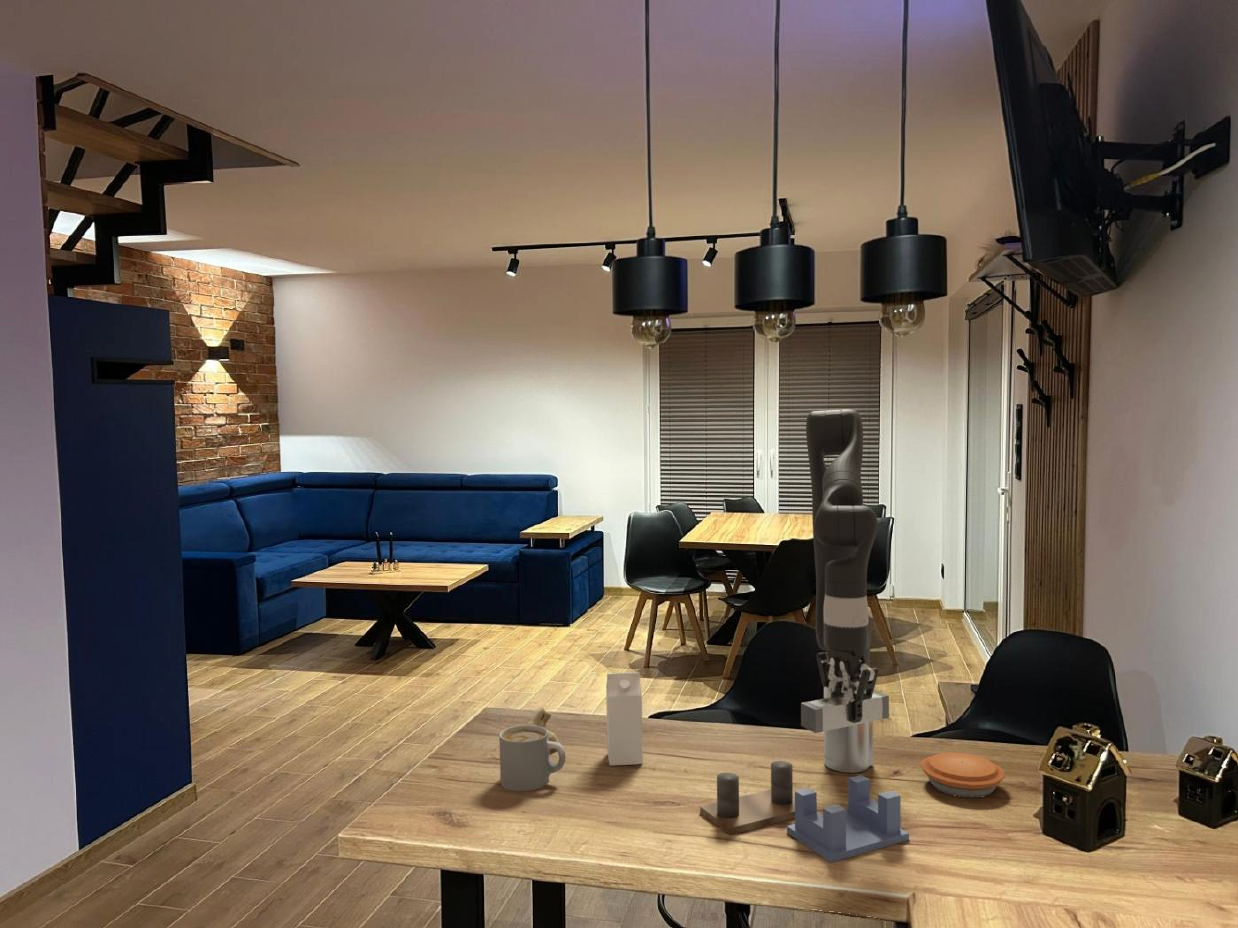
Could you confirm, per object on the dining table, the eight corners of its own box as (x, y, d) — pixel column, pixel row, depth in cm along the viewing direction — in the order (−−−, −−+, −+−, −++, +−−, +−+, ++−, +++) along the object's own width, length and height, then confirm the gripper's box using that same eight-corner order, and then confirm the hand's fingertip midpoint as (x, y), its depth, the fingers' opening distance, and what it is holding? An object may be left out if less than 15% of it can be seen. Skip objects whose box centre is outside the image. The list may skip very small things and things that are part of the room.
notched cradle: (861, 812, 163) (861, 771, 163) (909, 839, 152) (909, 796, 152) (787, 832, 156) (786, 789, 155) (831, 862, 145) (830, 816, 144)
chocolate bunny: (525, 747, 199) (524, 703, 198) (560, 745, 200) (559, 702, 199) (525, 756, 193) (524, 711, 193) (561, 754, 194) (560, 710, 194)
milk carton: (607, 753, 194) (605, 668, 193) (639, 752, 195) (638, 667, 194) (609, 766, 187) (608, 678, 186) (642, 764, 187) (641, 676, 187)
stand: (779, 793, 172) (778, 753, 172) (811, 813, 163) (811, 771, 163) (700, 812, 164) (699, 770, 164) (729, 834, 155) (728, 790, 155)
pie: (981, 810, 163) (981, 784, 163) (906, 786, 175) (906, 761, 174) (1018, 786, 173) (1018, 762, 173) (944, 764, 185) (944, 741, 185)
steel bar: (873, 711, 158) (873, 689, 158) (888, 717, 154) (888, 695, 154) (801, 725, 151) (800, 702, 151) (815, 733, 148) (815, 709, 147)
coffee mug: (491, 787, 177) (490, 738, 176) (513, 768, 186) (512, 722, 186) (552, 796, 172) (551, 746, 172) (572, 776, 182) (571, 729, 181)
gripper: (891, 626, 147) (891, 726, 148) (836, 610, 160) (836, 703, 161) (856, 631, 144) (856, 734, 145) (802, 614, 157) (803, 709, 158)
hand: (846, 717), depth 153 cm, fingers closed on steel bar, 4 cm apart
